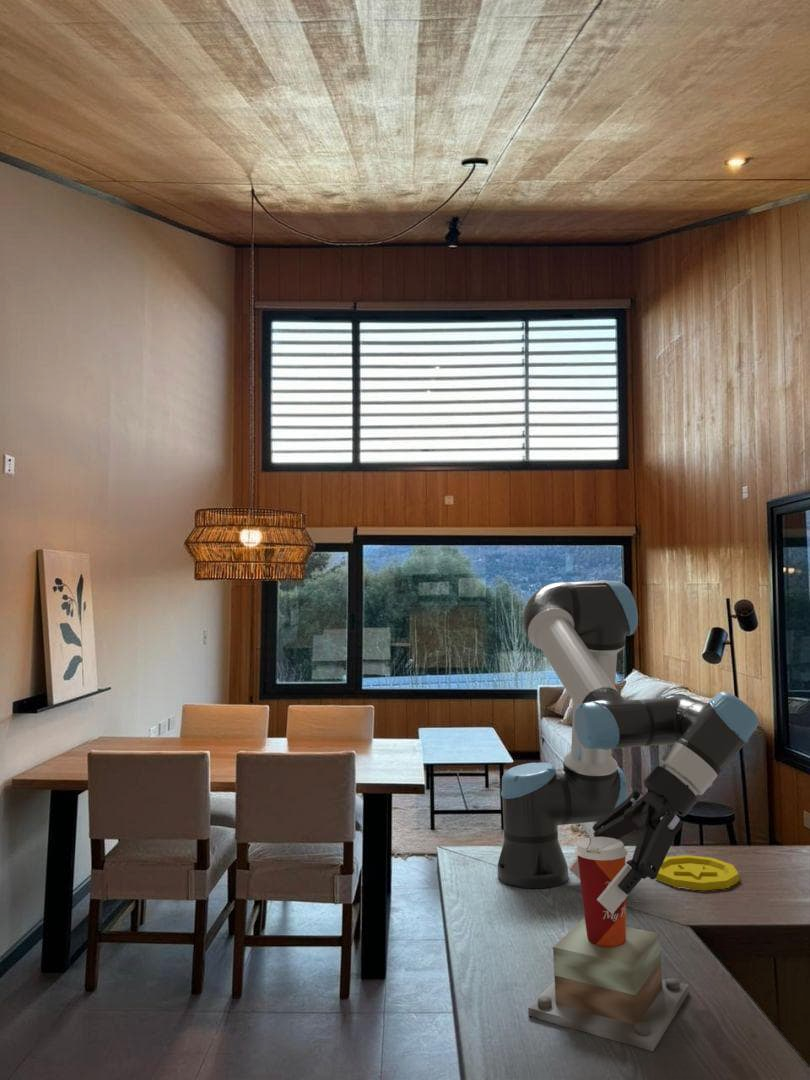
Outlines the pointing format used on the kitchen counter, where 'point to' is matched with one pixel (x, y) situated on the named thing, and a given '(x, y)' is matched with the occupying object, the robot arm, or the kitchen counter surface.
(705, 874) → the decorative disc
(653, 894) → the kitchen counter surface
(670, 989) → the bolted block on plate
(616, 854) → the paper cup
